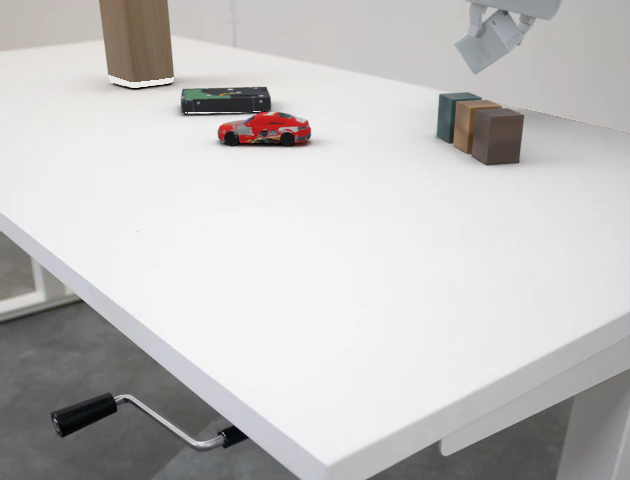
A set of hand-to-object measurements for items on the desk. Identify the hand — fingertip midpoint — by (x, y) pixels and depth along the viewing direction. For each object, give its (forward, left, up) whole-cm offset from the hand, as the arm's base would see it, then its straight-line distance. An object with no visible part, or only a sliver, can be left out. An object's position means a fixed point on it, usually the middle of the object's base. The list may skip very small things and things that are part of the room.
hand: (493, 40), depth 118 cm
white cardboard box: (+4, -1, -2) cm, 5 cm away
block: (+70, +11, -12) cm, 71 cm away
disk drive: (+39, +20, -12) cm, 45 cm away
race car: (+18, +35, -12) cm, 41 cm away
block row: (-8, +22, -11) cm, 26 cm away
